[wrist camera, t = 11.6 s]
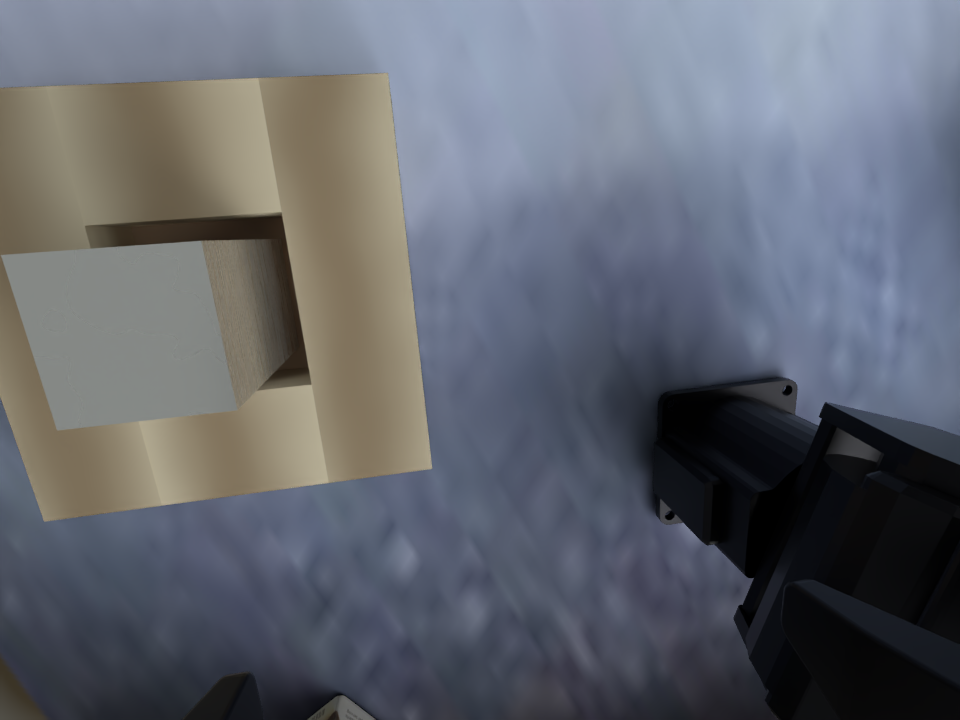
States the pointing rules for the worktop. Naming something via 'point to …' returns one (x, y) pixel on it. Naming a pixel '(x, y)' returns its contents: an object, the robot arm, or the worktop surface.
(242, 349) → the grey rectangular block
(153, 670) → the worktop surface
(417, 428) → the well block
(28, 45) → the worktop surface
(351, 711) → the cookie box
